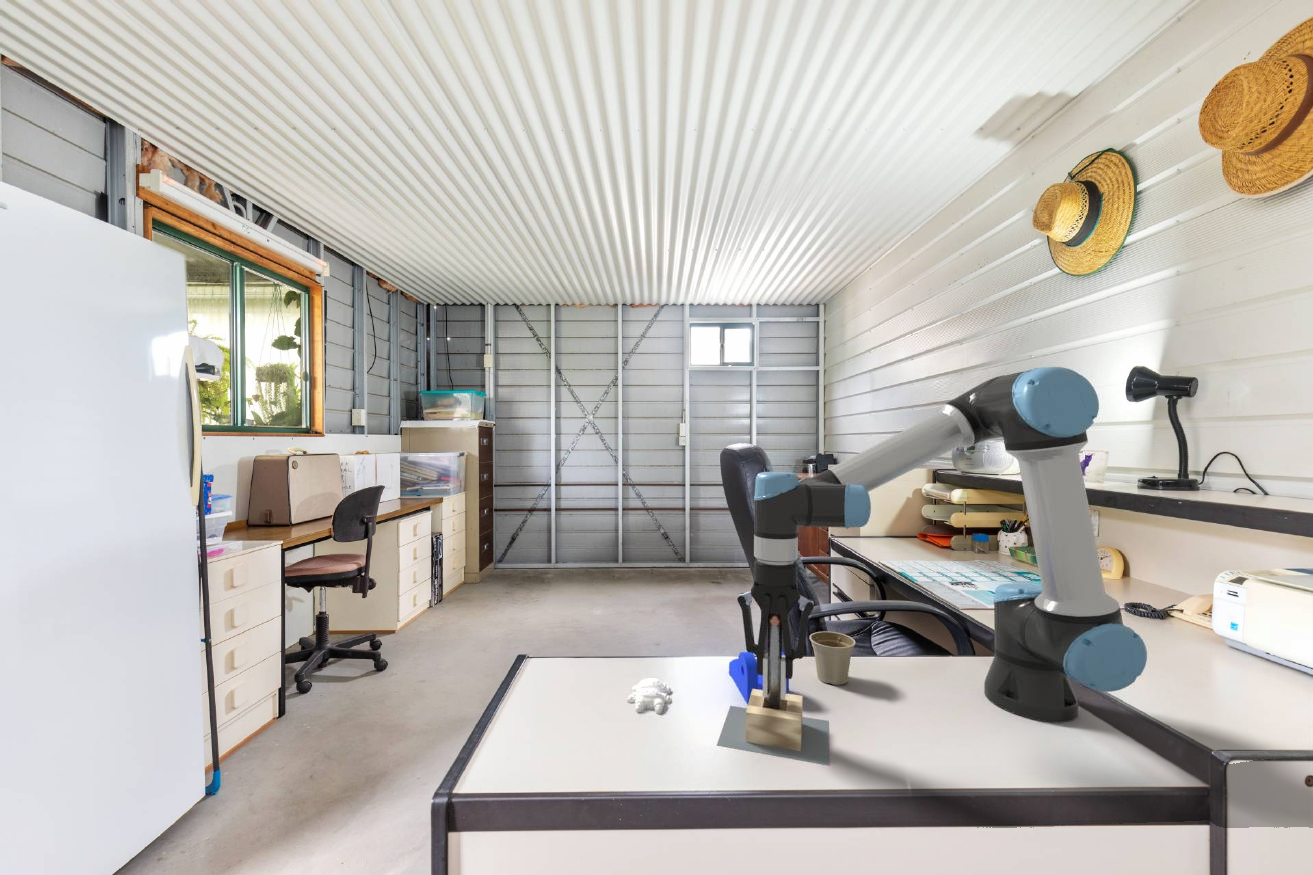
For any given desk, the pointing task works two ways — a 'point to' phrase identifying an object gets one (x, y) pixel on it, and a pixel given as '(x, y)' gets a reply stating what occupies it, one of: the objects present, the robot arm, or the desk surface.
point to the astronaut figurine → (650, 695)
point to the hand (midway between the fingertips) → (774, 694)
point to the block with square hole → (775, 721)
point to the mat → (811, 747)
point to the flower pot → (832, 656)
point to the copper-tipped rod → (774, 661)
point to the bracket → (747, 674)
